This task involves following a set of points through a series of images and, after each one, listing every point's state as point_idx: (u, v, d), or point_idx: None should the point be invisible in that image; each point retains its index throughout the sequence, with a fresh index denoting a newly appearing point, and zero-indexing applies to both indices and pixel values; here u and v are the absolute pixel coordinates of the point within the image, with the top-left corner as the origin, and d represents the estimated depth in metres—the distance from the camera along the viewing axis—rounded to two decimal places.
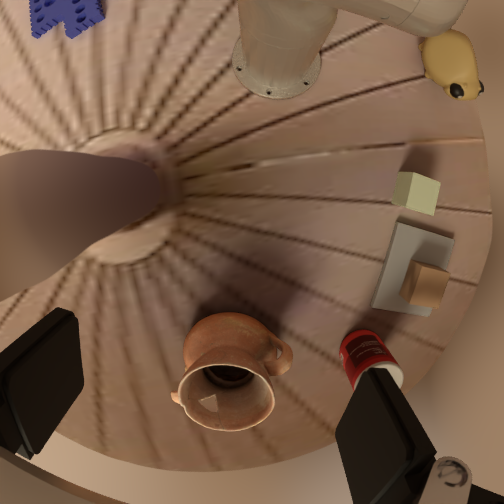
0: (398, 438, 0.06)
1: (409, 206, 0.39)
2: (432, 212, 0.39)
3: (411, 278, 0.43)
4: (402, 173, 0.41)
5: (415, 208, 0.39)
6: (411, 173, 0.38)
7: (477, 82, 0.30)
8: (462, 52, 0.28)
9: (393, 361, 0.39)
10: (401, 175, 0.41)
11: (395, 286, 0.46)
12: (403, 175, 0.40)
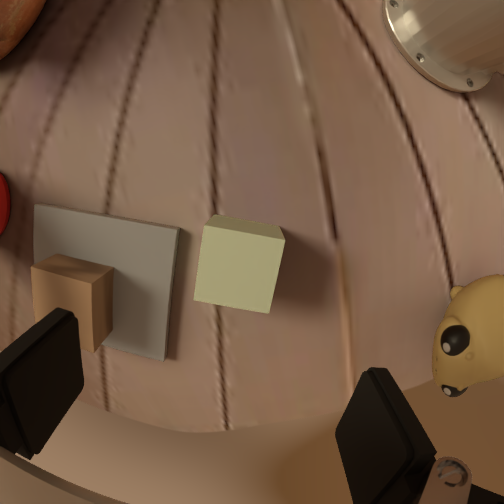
0: (398, 438, 0.06)
1: (206, 234, 0.19)
2: (200, 297, 0.20)
3: (76, 267, 0.22)
4: (277, 229, 0.22)
5: (203, 251, 0.19)
6: (281, 237, 0.19)
7: (471, 381, 0.18)
8: None
9: None
10: (274, 228, 0.22)
11: (67, 243, 0.23)
12: (273, 229, 0.22)
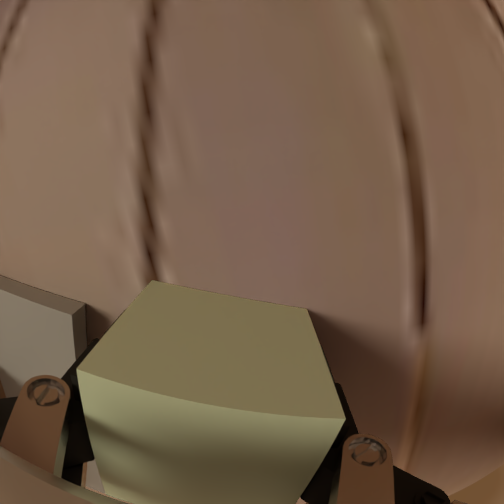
0: None
1: (88, 394, 0.05)
2: (119, 495, 0.06)
3: None
4: (306, 331, 0.08)
5: (94, 428, 0.05)
6: (329, 400, 0.05)
7: None
8: None
9: None
10: (297, 327, 0.08)
11: None
12: (298, 338, 0.08)
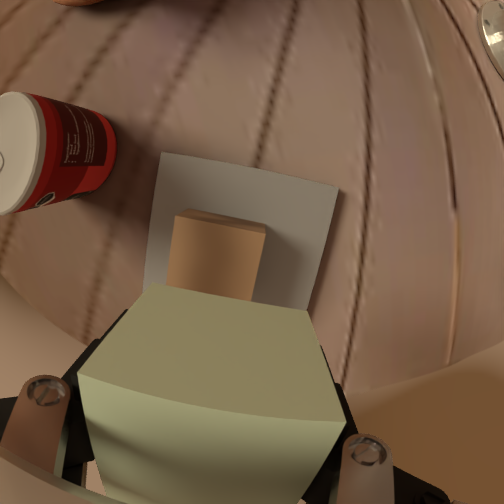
0: None
1: (89, 397, 0.05)
2: (120, 497, 0.06)
3: (229, 220, 0.22)
4: (307, 334, 0.08)
5: (95, 431, 0.05)
6: (330, 403, 0.05)
7: None
8: None
9: (44, 170, 0.14)
10: (298, 329, 0.08)
11: (205, 196, 0.23)
12: (299, 341, 0.08)
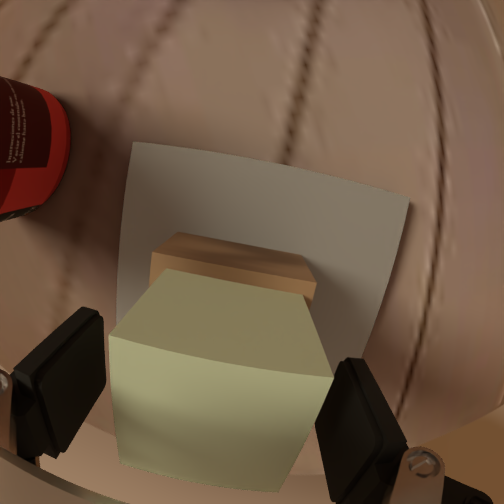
0: (368, 426, 0.06)
1: (117, 357, 0.06)
2: (132, 462, 0.07)
3: (248, 255, 0.13)
4: (302, 312, 0.10)
5: (118, 391, 0.06)
6: (320, 363, 0.07)
7: None
8: None
9: None
10: (294, 308, 0.10)
11: (205, 212, 0.14)
12: (294, 317, 0.09)
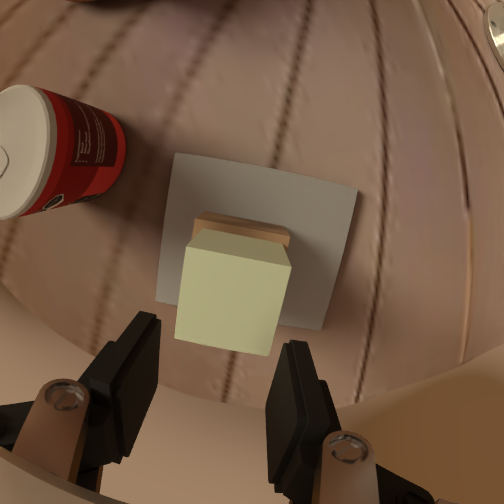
0: (294, 404, 0.07)
1: (188, 258, 0.14)
2: (183, 335, 0.15)
3: (250, 223, 0.21)
4: (280, 248, 0.18)
5: (185, 279, 0.15)
6: (286, 263, 0.15)
7: None
8: None
9: (54, 169, 0.13)
10: (276, 247, 0.18)
11: (222, 198, 0.23)
12: (275, 249, 0.17)
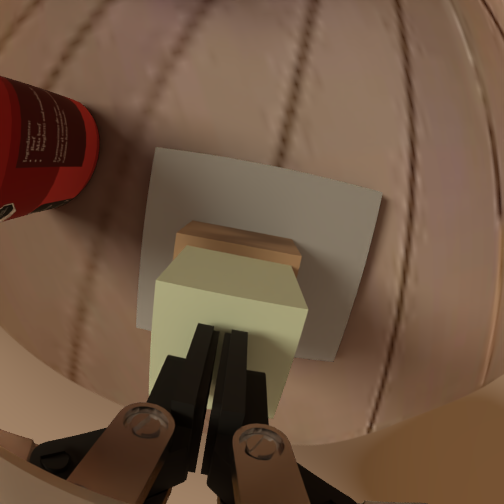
0: (214, 392, 0.07)
1: (159, 297, 0.10)
2: None
3: (249, 237, 0.17)
4: (289, 275, 0.13)
5: (157, 324, 0.10)
6: (300, 302, 0.10)
7: None
8: None
9: None
10: (283, 272, 0.13)
11: (214, 205, 0.18)
12: (283, 277, 0.13)
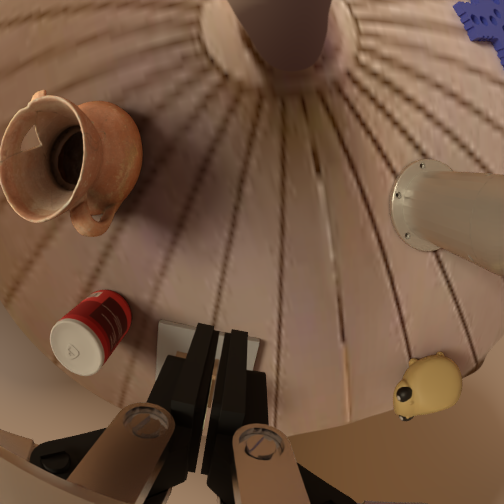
0: (214, 392, 0.07)
1: None
2: None
3: None
4: None
5: None
6: None
7: (413, 414, 0.36)
8: (443, 398, 0.34)
9: (104, 360, 0.32)
10: None
11: (186, 346, 0.41)
12: None
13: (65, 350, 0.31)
